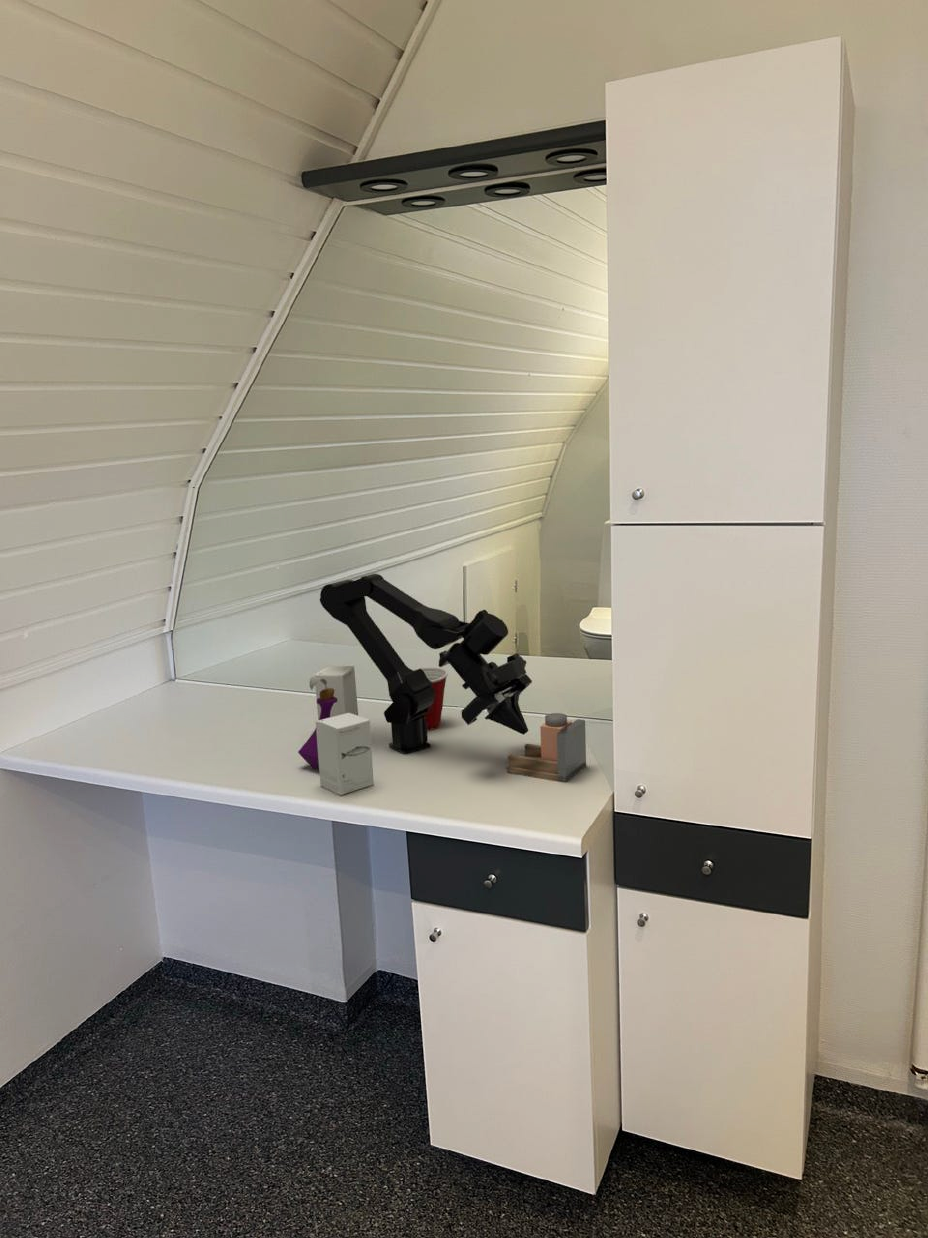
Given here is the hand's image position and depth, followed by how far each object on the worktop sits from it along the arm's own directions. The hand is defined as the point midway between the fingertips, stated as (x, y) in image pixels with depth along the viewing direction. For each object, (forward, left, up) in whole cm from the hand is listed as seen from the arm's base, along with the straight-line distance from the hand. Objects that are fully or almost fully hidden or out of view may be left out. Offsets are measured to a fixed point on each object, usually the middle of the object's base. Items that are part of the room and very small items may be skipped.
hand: (526, 732), depth 176 cm
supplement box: (-31, +15, -7) cm, 35 cm away
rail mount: (+2, -5, -7) cm, 8 cm away
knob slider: (+2, -6, -5) cm, 8 cm away
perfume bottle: (-29, +27, -7) cm, 40 cm away
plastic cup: (-1, +34, -7) cm, 34 cm away
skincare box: (-20, +38, -7) cm, 43 cm away
